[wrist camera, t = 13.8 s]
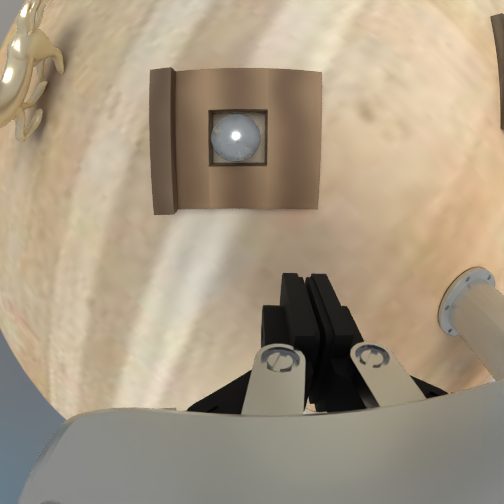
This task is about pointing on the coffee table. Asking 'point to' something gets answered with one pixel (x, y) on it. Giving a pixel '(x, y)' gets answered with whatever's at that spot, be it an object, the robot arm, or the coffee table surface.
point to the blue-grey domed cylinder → (235, 137)
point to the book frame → (500, 55)
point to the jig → (201, 149)
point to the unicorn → (26, 69)
